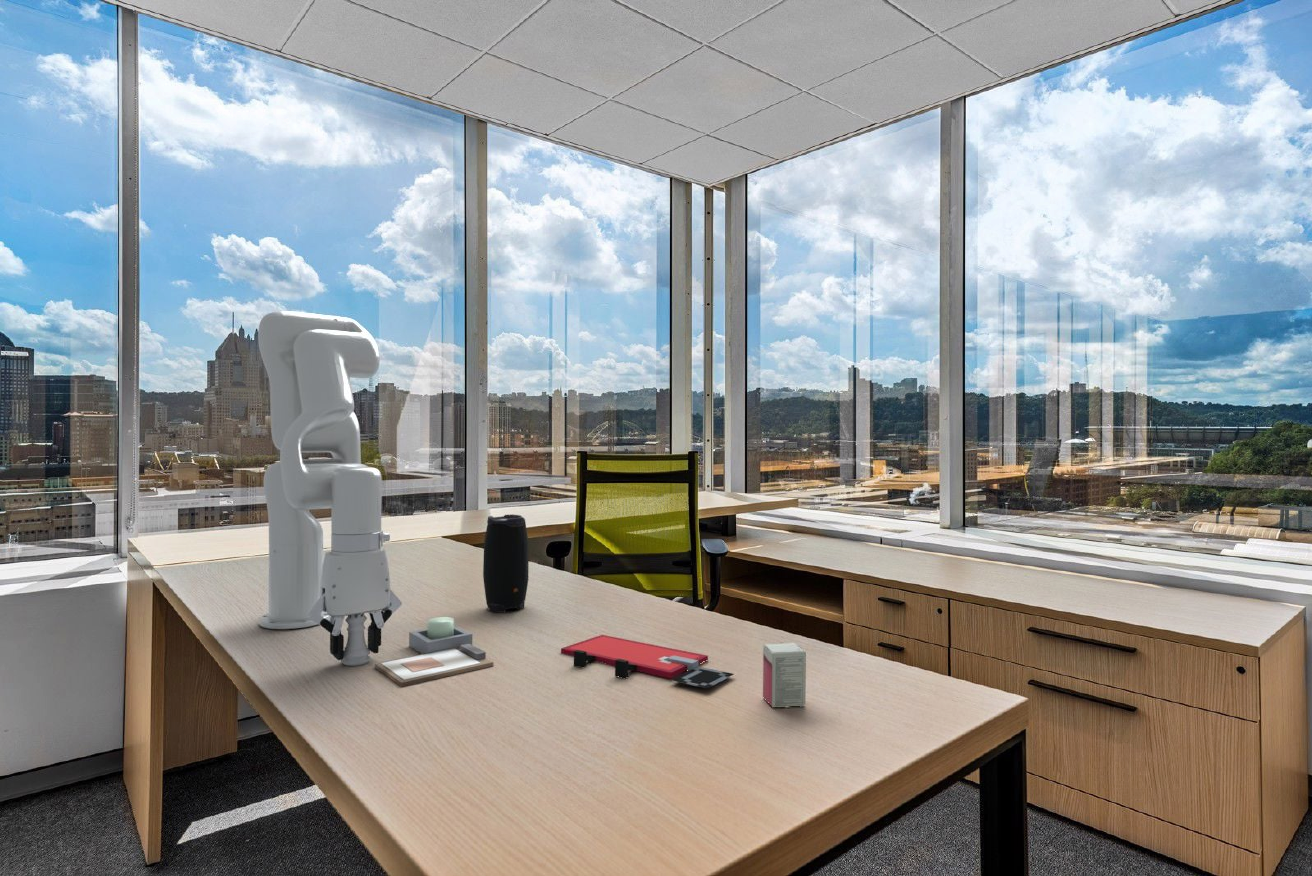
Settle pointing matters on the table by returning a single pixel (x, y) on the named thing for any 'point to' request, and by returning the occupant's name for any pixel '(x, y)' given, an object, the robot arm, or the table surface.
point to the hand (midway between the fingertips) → (355, 653)
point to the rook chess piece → (356, 642)
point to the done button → (440, 628)
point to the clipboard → (434, 665)
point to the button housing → (438, 641)
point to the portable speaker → (505, 562)
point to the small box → (784, 674)
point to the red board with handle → (645, 660)
